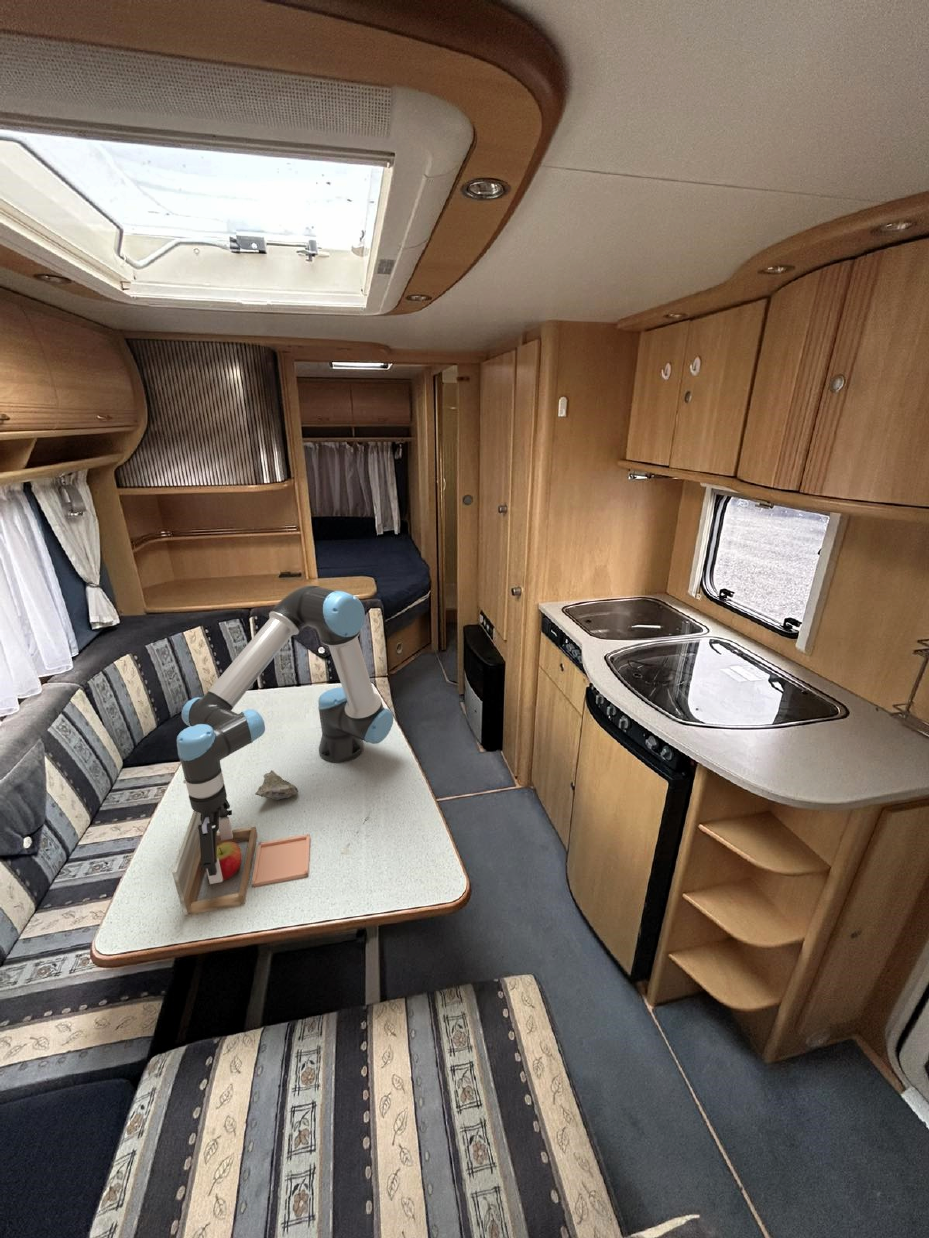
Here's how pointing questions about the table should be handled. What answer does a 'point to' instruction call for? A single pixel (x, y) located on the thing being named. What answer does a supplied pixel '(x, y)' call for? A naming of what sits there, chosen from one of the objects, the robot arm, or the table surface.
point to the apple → (228, 858)
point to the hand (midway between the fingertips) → (222, 859)
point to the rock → (276, 787)
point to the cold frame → (192, 875)
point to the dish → (281, 860)
